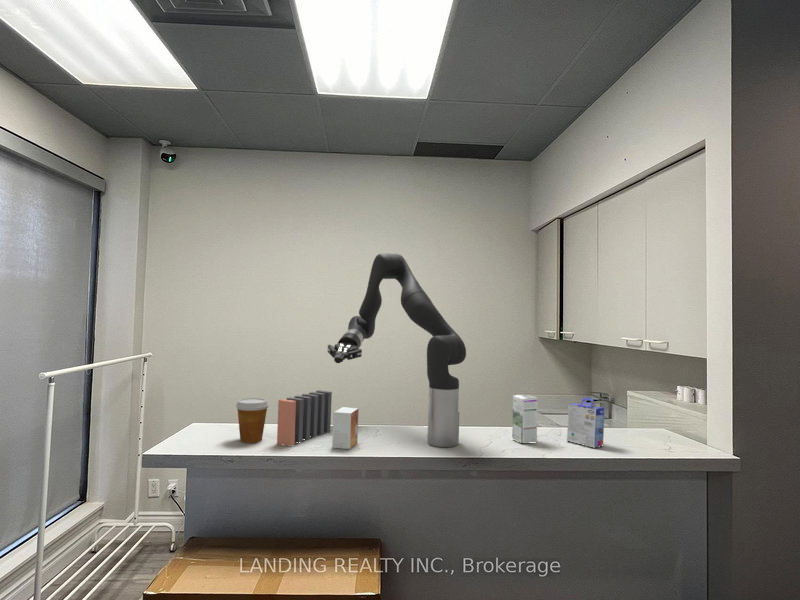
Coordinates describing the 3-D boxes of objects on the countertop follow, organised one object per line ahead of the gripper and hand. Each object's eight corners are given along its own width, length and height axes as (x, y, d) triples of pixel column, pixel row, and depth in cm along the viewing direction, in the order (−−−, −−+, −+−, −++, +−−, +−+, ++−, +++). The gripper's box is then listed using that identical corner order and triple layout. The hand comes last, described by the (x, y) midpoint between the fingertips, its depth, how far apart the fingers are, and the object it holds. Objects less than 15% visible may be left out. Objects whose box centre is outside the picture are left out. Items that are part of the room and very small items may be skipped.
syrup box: (537, 443, 155) (538, 397, 155) (521, 445, 153) (523, 398, 153) (526, 438, 160) (527, 394, 160) (511, 440, 158) (512, 394, 158)
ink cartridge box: (604, 446, 154) (605, 400, 154) (595, 449, 150) (596, 402, 151) (575, 439, 162) (576, 395, 162) (566, 442, 158) (567, 396, 158)
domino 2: (288, 439, 150) (290, 397, 150) (302, 442, 148) (303, 398, 148) (285, 441, 149) (286, 398, 149) (298, 443, 146) (300, 399, 147)
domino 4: (303, 434, 157) (305, 393, 157) (316, 436, 155) (318, 395, 155) (300, 435, 155) (301, 394, 156) (313, 437, 153) (315, 396, 153)
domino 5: (310, 431, 160) (312, 391, 161) (323, 433, 158) (325, 393, 159) (307, 433, 159) (309, 392, 159) (320, 435, 157) (322, 394, 157)
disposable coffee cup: (228, 443, 144) (229, 402, 145) (244, 435, 154) (245, 396, 154) (258, 446, 143) (260, 404, 143) (272, 437, 152) (274, 398, 152)
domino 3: (296, 437, 154) (298, 395, 154) (309, 439, 151) (311, 397, 152) (293, 438, 152) (294, 396, 152) (306, 440, 150) (307, 397, 150)
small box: (350, 449, 142) (351, 413, 142) (331, 448, 143) (332, 411, 143) (358, 442, 150) (359, 407, 150) (340, 441, 151) (341, 406, 151)
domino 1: (280, 442, 147) (282, 399, 147) (294, 445, 145) (296, 400, 145) (276, 444, 145) (278, 400, 145) (290, 446, 143) (292, 401, 143)
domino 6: (317, 429, 164) (319, 390, 164) (330, 431, 162) (331, 391, 162) (314, 430, 162) (315, 391, 162) (327, 432, 160) (328, 392, 160)
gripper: (333, 330, 180) (318, 347, 164) (369, 334, 179) (357, 352, 162) (333, 348, 182) (318, 368, 166) (367, 353, 181) (356, 373, 164)
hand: (337, 360), depth 164 cm, fingers closed
